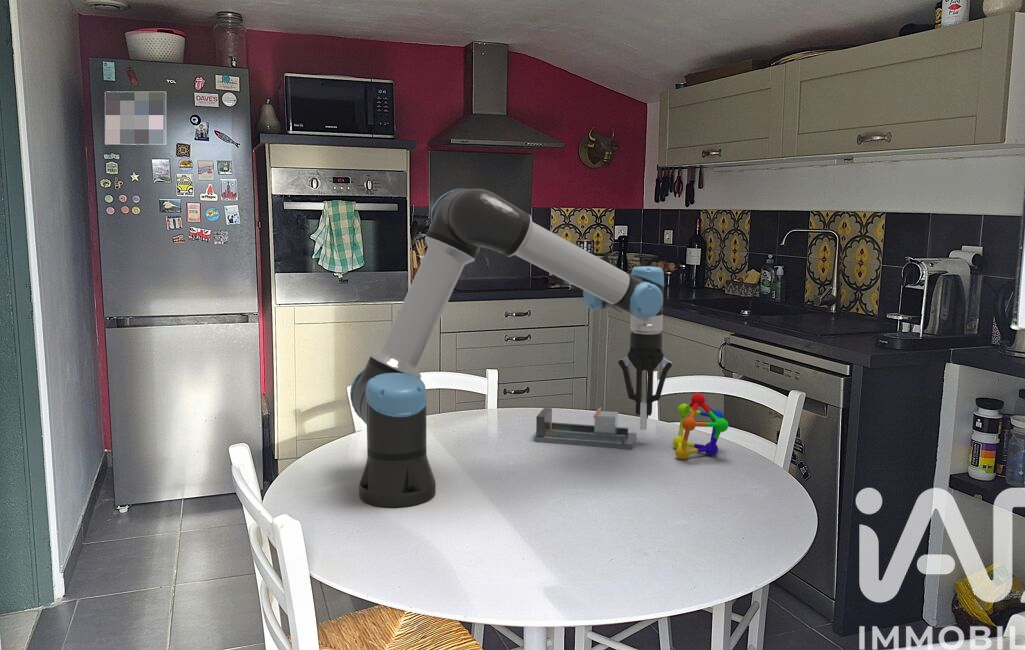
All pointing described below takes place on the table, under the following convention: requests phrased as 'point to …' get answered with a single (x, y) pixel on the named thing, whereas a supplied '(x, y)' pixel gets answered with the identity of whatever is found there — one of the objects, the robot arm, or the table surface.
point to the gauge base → (579, 433)
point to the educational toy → (690, 425)
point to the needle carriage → (606, 422)
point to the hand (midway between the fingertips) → (643, 427)
